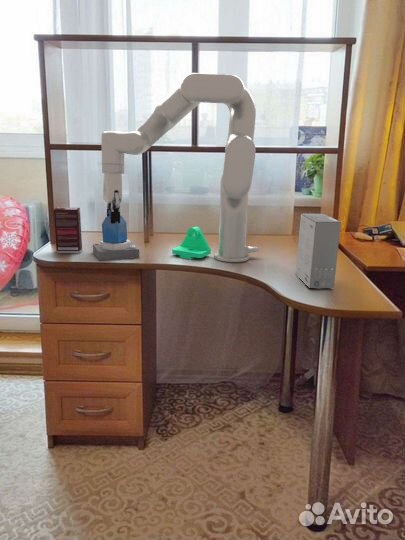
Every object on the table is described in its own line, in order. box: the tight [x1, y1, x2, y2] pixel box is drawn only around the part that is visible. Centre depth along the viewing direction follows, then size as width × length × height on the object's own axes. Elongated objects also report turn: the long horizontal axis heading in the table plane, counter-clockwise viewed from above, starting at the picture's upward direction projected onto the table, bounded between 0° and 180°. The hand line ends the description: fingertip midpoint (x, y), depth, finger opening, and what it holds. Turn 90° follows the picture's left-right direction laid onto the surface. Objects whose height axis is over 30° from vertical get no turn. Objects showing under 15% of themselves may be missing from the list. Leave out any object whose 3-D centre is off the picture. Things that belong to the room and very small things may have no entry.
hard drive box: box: [295, 213, 342, 289], centre depth 143 cm, size 16×8×20 cm, turn 4°
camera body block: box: [92, 238, 140, 261], centre depth 171 cm, size 14×12×5 cm
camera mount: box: [171, 226, 212, 260], centre depth 171 cm, size 12×8×10 cm, turn 62°
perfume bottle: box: [101, 206, 128, 243], centre depth 168 cm, size 6×6×12 cm
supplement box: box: [52, 206, 83, 254], centre depth 172 cm, size 9×5×16 cm, turn 94°
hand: (113, 221), depth 168 cm, fingers closed on perfume bottle, 5 cm apart
